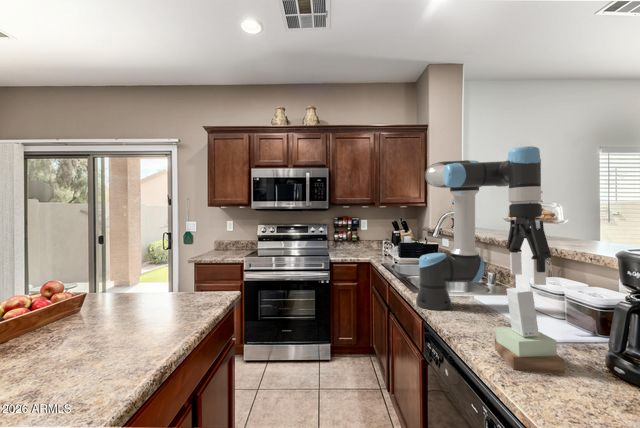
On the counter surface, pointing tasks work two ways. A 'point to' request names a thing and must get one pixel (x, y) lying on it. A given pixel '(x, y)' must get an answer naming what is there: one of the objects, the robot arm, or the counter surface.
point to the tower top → (526, 343)
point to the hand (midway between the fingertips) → (526, 279)
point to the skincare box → (522, 312)
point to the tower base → (531, 361)
